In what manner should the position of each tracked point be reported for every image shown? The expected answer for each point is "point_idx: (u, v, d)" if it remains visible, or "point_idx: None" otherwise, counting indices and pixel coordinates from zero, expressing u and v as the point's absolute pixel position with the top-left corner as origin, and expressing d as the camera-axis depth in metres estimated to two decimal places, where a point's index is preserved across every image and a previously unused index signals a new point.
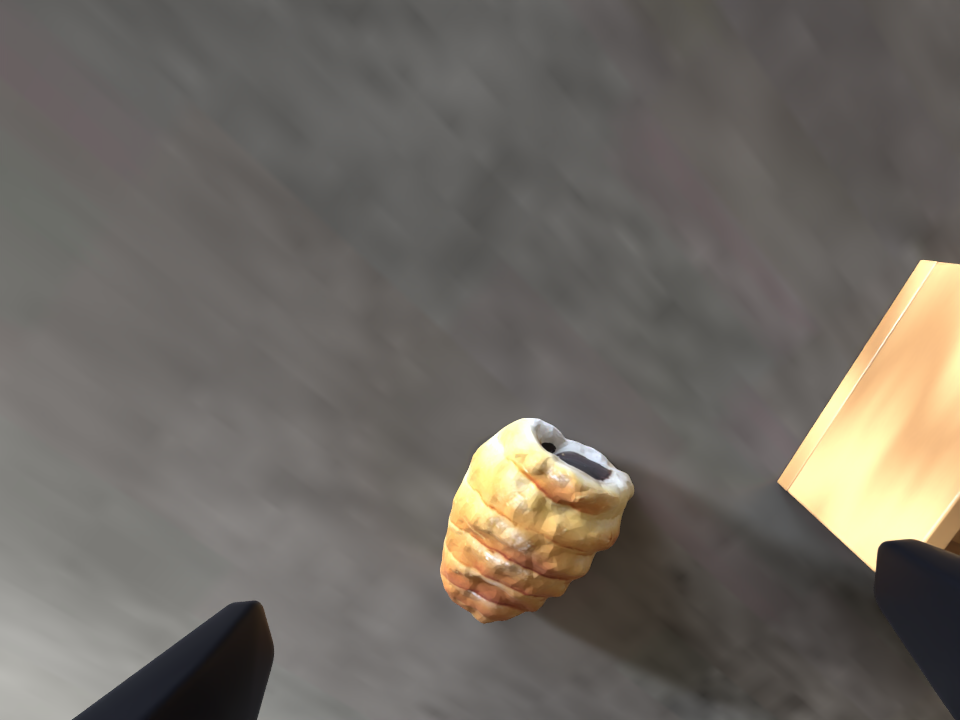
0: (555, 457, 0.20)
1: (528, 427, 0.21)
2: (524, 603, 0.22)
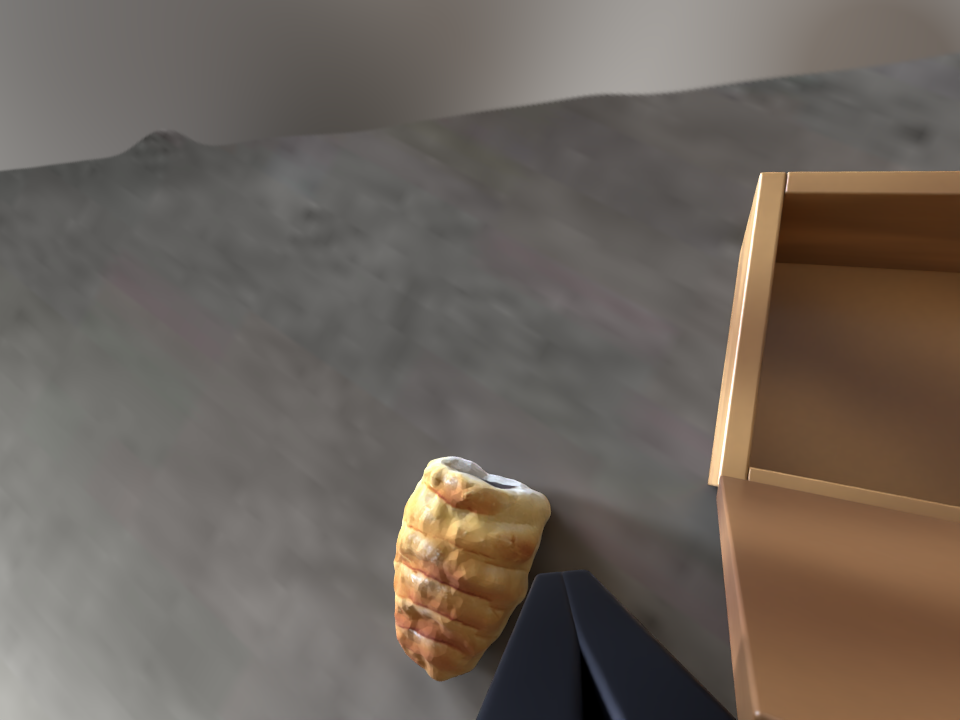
0: (451, 468, 0.23)
1: (442, 458, 0.25)
2: (458, 637, 0.22)
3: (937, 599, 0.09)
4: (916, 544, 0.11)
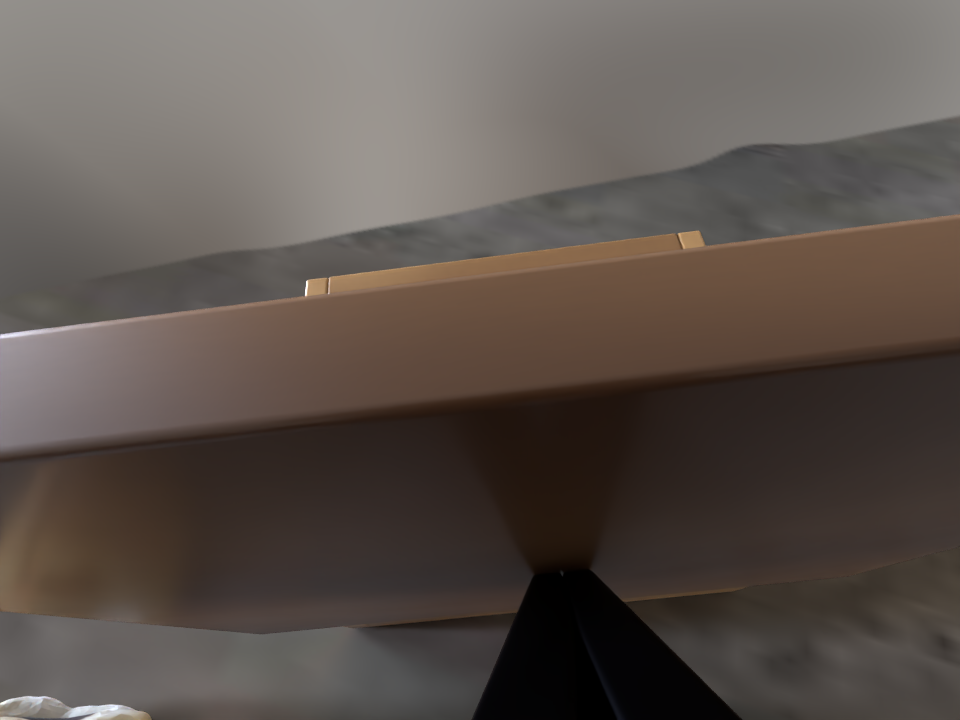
0: None
1: None
2: None
3: None
4: None
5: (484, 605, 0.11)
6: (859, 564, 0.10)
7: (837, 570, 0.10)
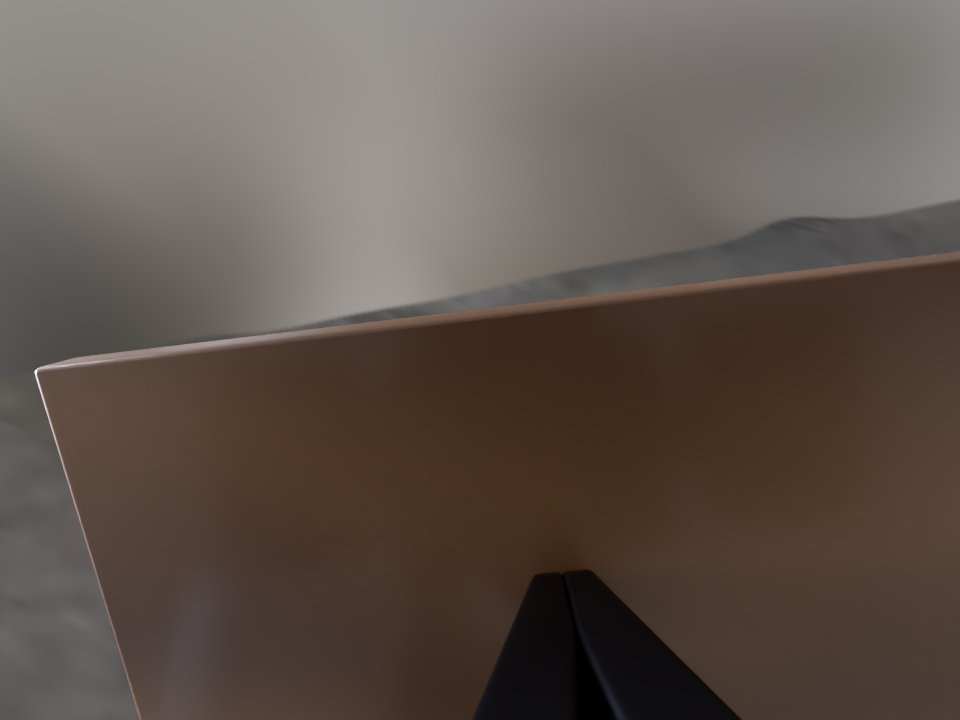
0: None
1: None
2: None
3: None
4: None
5: None
6: None
7: None
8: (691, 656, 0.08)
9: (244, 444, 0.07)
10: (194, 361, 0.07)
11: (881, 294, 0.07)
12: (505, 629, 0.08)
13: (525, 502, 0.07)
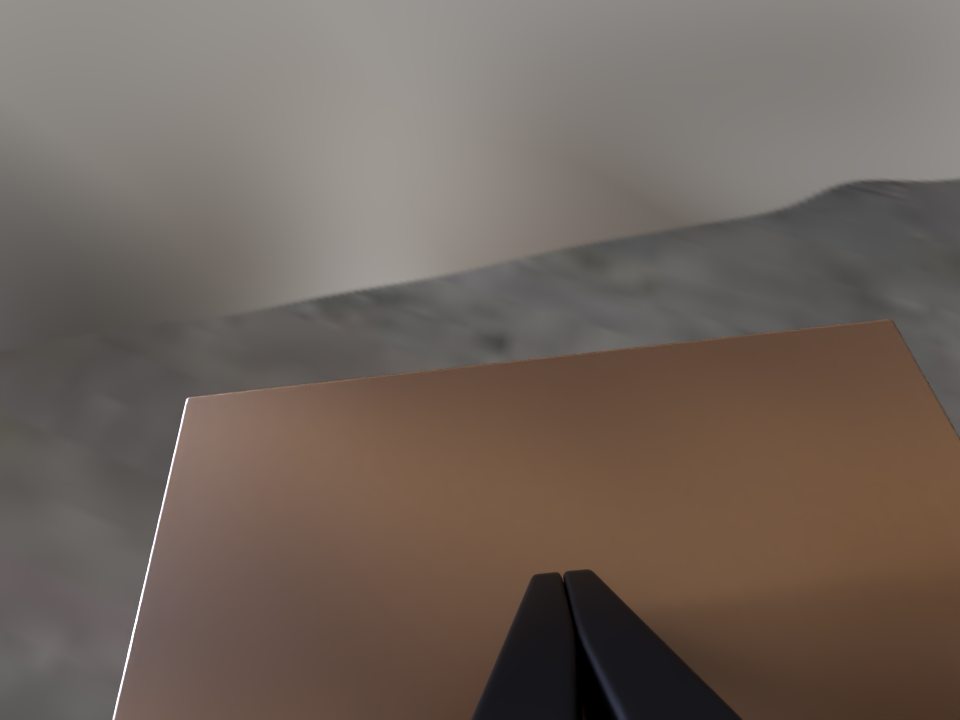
0: None
1: None
2: None
3: None
4: None
5: None
6: None
7: None
8: (711, 682, 0.07)
9: (311, 449, 0.10)
10: (296, 390, 0.10)
11: (772, 346, 0.10)
12: None
13: (527, 500, 0.09)
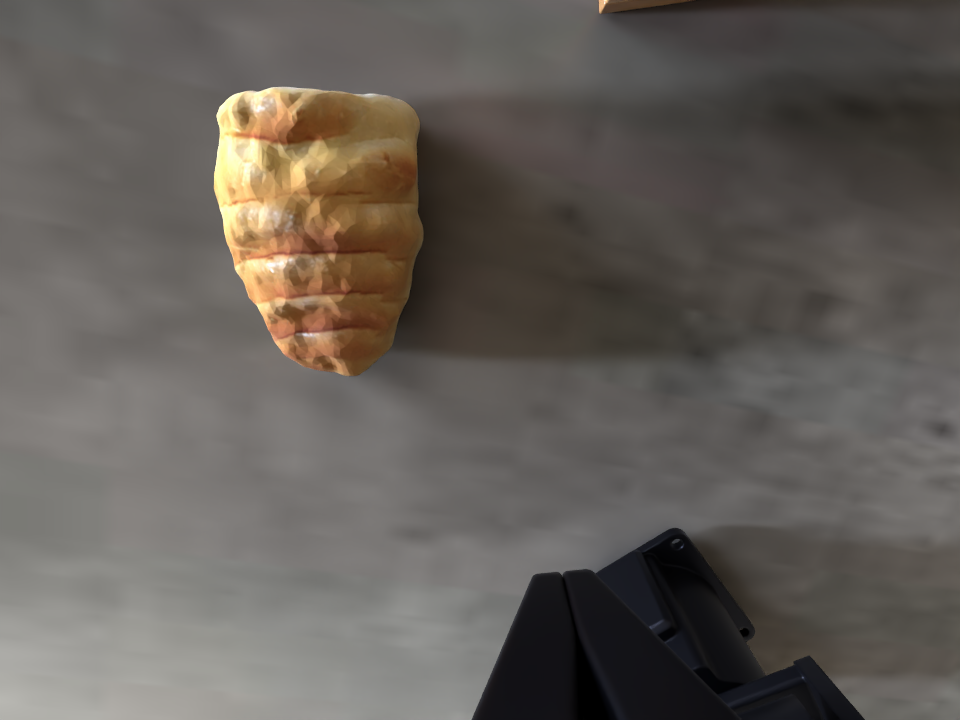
0: None
1: None
2: (361, 312, 0.17)
3: None
4: None
5: None
6: None
7: None
8: None
9: None
10: None
11: None
12: None
13: None
